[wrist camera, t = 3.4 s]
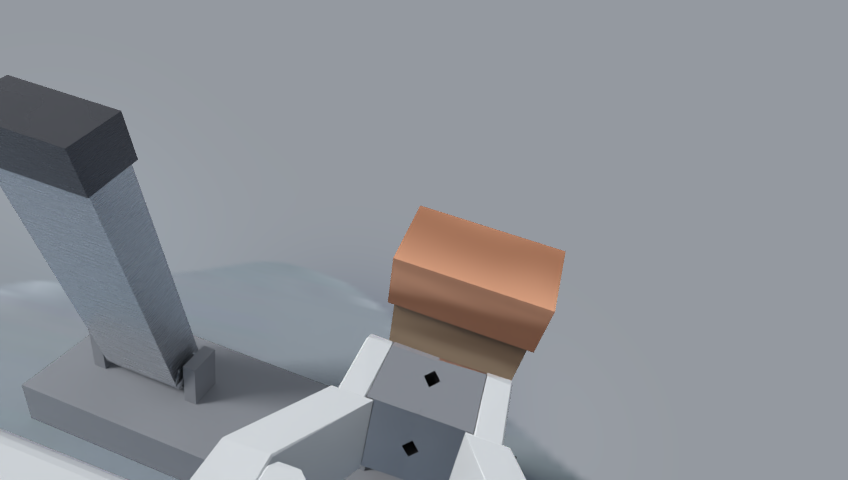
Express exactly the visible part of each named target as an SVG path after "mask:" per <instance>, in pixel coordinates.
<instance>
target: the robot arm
mask: <svg viewBox="0 0 848 480" xmlns="http://www.w3.org/2000/svg"><path fill="white" fill-rule="evenodd" d="M511 390H512V382H511V380H509V379H505V378H502V377H499V376H496V375H493V374H490V373H487V374H486V373H485V372H482V371H479V370H476V369H473V368H470V367H467V366H464V365H461V364H458V363H454V362H451V361H448V360H445V359H442V358H439V357H436V356H433V355H430V354H428V353H425V352H422V351H419V350H417V349H414V348H411V347H408V346H405V345H403V344H400V343H397V342H393V341H390V340H387V339H384V338H382V337H379V336H376V335H373V334H371V335H370V336H369V337H367V339H366V340H365V342H364V344H363V346H362V347H361V349H360V351H359V353H358V354H357V356H356V358H355V360H354V361H353V363H352V365H351V367H350V368H349V370H348V372H347V374H346V375H345V377H344V379H343V381H342V382H341V384H340V386H339V388H338V387H335V386H332V385H331V386H329V387H327V388H325V389H323V390H321V391H319V392H317V393H314V394H312V395H310V396H308V397H306V398H304V399H302V400H300V401H298V402H296V403H293V404H291V405H289V406H287V407H285V408H283V409H281V410H279V411H277V412H275V413H272V414H270V415H268V416H266V417H264V418H262V419H260V420H258V421H256V422H254V423H251V424H249V425H247V426H245V427H243V428H241V429H239V430H237V431H235V432H233V433H230V434H228V435H226V436H224V437H222V438H221V440H220V441H219V442H218V444H217V445H216V446H215V447H214V449H213V450H212V451H211V453H210V454H209V455H208V457H207V458H206V459H205V460H204V462H203V463H202V464H201V466H200V467H199V468H198V470H197V471H196V472H195V473H194V475H193V476H192V477H191V479H190V480H344V479H345V478H347V477H348V476H349V475H351V474H352V473H353V472H355V471H356V470H357V469H359V468H360V465H362V466H365V467H368V468H371V469H374V470H377V471H380V472H382V473H385V474H388V475H391V476H394V477H397V478H400V479H403V480H526V478H525V476H524V474H523V472H522V470H521V468H520V466H519V464H518V462H517V460H516V458H515V456H514V454H513V452H512V450H511V448H509V447H506V446H503V443H504V437H505V430H506V423H507V417H508V410H509V403H510V396H511ZM402 477H403V478H402ZM0 480H128V479H126V478H123V477H121V476H118V475H116V474H113V473H111V472H108V471H106V470H103V469H101V468H98V467H96V466H93V465H91V464H88V463H86V462H83V461H81V460H78V459H76V458H73V457H71V456H68V455H66V454H63V453H61V452H58V451H56V450H53V449H51V448H48V447H46V446H43V445H41V444H38V443H36V442H33V441H31V440H28V439H26V438H23V437H21V436H18V435H16V434H13V433H11V432H8V431H6V430H3V429H1V428H0Z"/></svg>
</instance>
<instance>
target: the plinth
mask: <svg viewBox="0 0 848 480" xmlns="http://www.w3.org/2000/svg"><path fill="white" fill-rule="evenodd" d="M193 336H194V335H193ZM194 339H195V342H196V345H197V348H198V350H199V351H198V352H197V353H196V354H195V355H194V356H193V357H192V358H191V359H190V360H189V361H188V362H187V363H186V364H185V365H184V366H183V379H184V388H183V389H177V388H175V387H172V386H170V385H167V384H165V383H162V382H160V381H157V380H155V379H152V378H149V377H147V376H144V375H142V374H139V373H137V372H134V371H132V370H129V369H126V368H124V367H121V366H119V365H116V364H114V363H111V362H109V361H108V360H107V359H106V357H105V356H104V354H103V353H102V351H101V349H100V348H99V346H98V344H97V343H96V341H95V340H94V338H93V336H92V335H91V333H90V331H89V335H88V336H87V337H85V338H84V339H83V340H81V341H80V342H79V343H77V344H76V345H75V346H73V347H72V348H71V349H69V350H68V351H67V352H65V353H64V354H63V355H61V356H60V357H59V358H57V359H56V360H55V361H53V362H52V363H51V364H49V365H48V366H46V367H45V368H44V369H42V370H41V371H40V372H38V373H37V374H36V375H34V376H33V377H32V378H30V379H29V380H28V381H26V382H25V383H24V384H22V387H23V391H24V394H25V397H26V401H27V404H28V408H29V411H30V414H31V418H34V419H36V420H39V421H41V422H43V423H46V424H48V425H51V426H53V427H55V428H58V429H60V430H62V431H65V432H67V433H70V434H72V435H74V436H77V437H79V438H82V439H84V440H86V441H89V442H91V443H94V444H96V445H98V446H101V447H103V448H105V449H108V450H110V451H113V452H115V453H117V454H120V455H122V456H125V457H127V458H129V459H132V460H134V461H136V462H139V463H141V464H144V465H146V466H148V467H151V468H153V469H156V470H158V471H160V472H163V473H165V474H168V475H170V476H172V477H175V478H177V479H179V480H190V479H191V477H192V476H193V475H194V473H195V472H196V471H197V470H198V468H199V467H200V466H201V464H202V463H203V462H204V460H205V459H206V458H207V457H208V455H209V454H210V453H211V451H212V450H213V449H214V447H215V446H216V445H217V444H218V442H219V441H220V440H221V438H222V437H224V436H226V435H228V434H230V433H233V432H235V431H237V430H239V429H241V428H243V427H245V426H247V425H249V424H251V423H254V422H256V421H258V420H260V419H262V418H264V417H266V416H268V415H270V414H272V413H275V412H277V411H279V410H281V409H283V408H285V407H287V406H289V405H291V404H293V403H296V402H298V401H300V400H302V399H304V398H306V397H308V396H310V395H312V394H314V393H317V392H319V391H321V390H323V389H325V388H327V387H329V386H327V385H324V384H322V383H319V382H316V381H314V380H311V379H308V378H306V377H303V376H300V375H298V374H295V373H292V372H290V371H287V370H284V369H282V368H279V367H276V366H274V365H271V364H268V363H266V362H263V361H260V360H258V359H255V358H252V357H250V356H247V355H244V354H242V353H239V352H236V351H234V350H231V349H228V348H226V347H223V346H220V345H218V344H215V343H212V342H210V341H207V340H204V339H202V338H199V337H196V336H194ZM515 458H516V459H517V457H516V456H515ZM402 478H403V477H402ZM344 480H403V479H400V478H397V477H394V476H391V475H388V474H385V473H382V472H380V471H377V470H374V469H371V468H368V467H365V466H362V465H360V468H359V469H357V470H356V471H355V472H353V473H352V474H351V475H349V476H348V477H347V478H345V479H344Z"/></svg>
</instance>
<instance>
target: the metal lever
mask: <svg viewBox="0 0 848 480" xmlns="http://www.w3.org/2000/svg"><path fill="white" fill-rule="evenodd" d="M136 160H138V158H137V156H136V153H135V150H134V147H133V144H132V141H131V138H130V136H129V132H128V130H127V126H126V124H125V121H124V118H123V115H122V112H121V111H120V110H116V109H113V108H110V107H107V106H103V105H101V104H98V103H94V102H91V101H88V100H85V99H82V98H78V97H75V96H72V95H69V94H66V93H63V92H60V91H56V90H53V89H50V88H47V87H43V86H41V85H37V84H34V83H31V82H28V81H25V80H21V79H18V78H15V77H12V76H9V75H6V76H4V77H3V78H1V79H0V186H1V188H2V190H3V191H4V193H5V195H6V196H7V198H8V199H9V201H10V203H11V204H12V206H13V208H14V209H15V211H16V213H17V214H18V215H19V217H20V219H21V220H22V222H23V224H24V225H25V227H26V228H27V230H28V232H29V234H30V235H31V237H32V238H33V240H34V242H35V243H36V245H37V247H38V248H39V250H40V251H41V253H42V255H43V256H44V258H45V260H46V261H47V263H48V265H49V266H50V268H51V270H52V271H53V273H54V274H55V276H56V278H57V279H58V281H59V283H60V284H61V286H62V287H63V289H64V291H65V292H66V294H67V296H68V297H69V299H70V300H71V302H72V304H73V305H74V307H75V309H76V310H77V312H78V314H79V315H80V317H81V318H82V320H83V322H84V323H85V325H86V327H87V328H88V330H89V331H90V333H91V335H92V336H93V338H94V340H95V341H96V343H97V344H98V346H99V348H100V349H101V351H102V353H103V354H104V356H105V357H106V359H107V360H108V361H109V362H111V363H114V364H116V365H119V366H121V367H124V368H126V369H129V370H132V371H134V372H137V373H139V374H142V375H144V376H147V377H149V378H152V379H155V380H157V381H160V382H162V383H165V384H167V385H170V386H172V387H175V388H177V389H183V388H184V379H183V366H184V365H185V364H186V363H187V362H188V361H189V360H190V359H191V358H192V357H193V356H194V355H195V354H196V353H197V352H198V351H199V350H198V348H197V345H196V342H195V339H194V336H193V334H192V331H191V328H190V325H189V322H188V320H187V317H186V314H185V311H184V309H183V306H182V303H181V300H180V297H179V295H178V292H177V289H176V286H175V283H174V281H173V278H172V275H171V272H170V269H169V267H168V264H167V261H166V258H165V255H164V253H163V250H162V247H161V244H160V242H159V239H158V236H157V233H156V230H155V228H154V225H153V222H152V219H151V217H150V214H149V211H148V208H147V205H146V202H145V200H144V197H143V194H142V191H141V189H140V186H139V183H138V180H137V177H136V175H135V172H134V169H133V166H132V164H133V163H134V162H135V161H136Z"/></svg>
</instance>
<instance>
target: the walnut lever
mask: <svg viewBox="0 0 848 480" xmlns="http://www.w3.org/2000/svg"><path fill="white" fill-rule="evenodd" d="M564 257H565V251H562V250H559V249H556V248H553V247H549V246H546V245H543V244H540V243H537V242H534V241H531V240H527V239H524V238H521V237H518V236H515V235H511V234H508V233H505V232H502V231H499V230H496V229H493V228H489V227H486V226H483V225H480V224H477V223H474V222H470V221H467V220H464V219H461V218H458V217H455V216H452V215H448V214H445V213H442V212H439V211H436V210H433V209H429V208H426V207H423V206H420V207H419V209H418V211H417V213H416V215H415V217H414V219H413V221H412V223H411V225H410V227H409V229H408V231H407V233H406V234H405V236H404V239H403V240H402V242H401V244H400V246H399V248H398V250H397V252H396V254H395V256H394V258H393V265H392V273H391V282H390V290H389V297H388V302H389V303H392V304H394V312H393V318H392V325H391V332H390V341H393V342H397V343H400V344H403V345H405V346H408V347H411V348H414V349H417V350H419V351H422V352H425V353H428V354H430V355H433V356H436V357H439V358H442V359H445V360H448V361H451V362H454V363H458V364H461V365H464V366H467V367H470V368H473V369H476V370H479V371H482V372H485V373H486V374H487V373H490V374H493V375H496V376H499V377H502V378H505V379H509V380H512V378H513V376H514V374H515V373H516V370H517V368H518V367H519V365H520V362H521V360H522V359H523V356H524V355H525V353H526V351H527V350H528V351H530V352H534V350H535V348H536V347H537V345H538V343H539V341H540V339H541V337H542V335H543V333H544V332H545V330H546V328H547V326H548V324H549V322H550V320H551V318H552V316H553V314H554V312H555V307H556V302H557V297H558V291H559V285H560V279H561V274H562V268H563V263H564Z"/></svg>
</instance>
